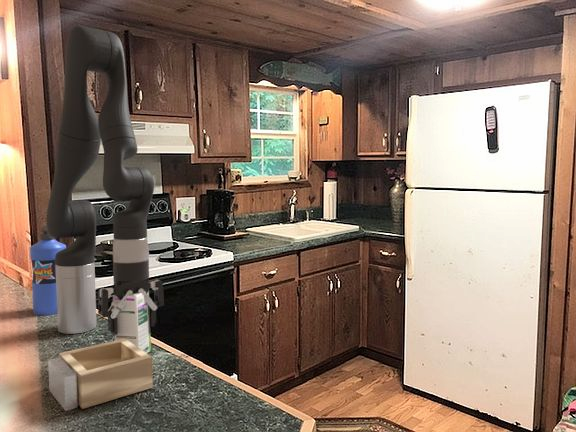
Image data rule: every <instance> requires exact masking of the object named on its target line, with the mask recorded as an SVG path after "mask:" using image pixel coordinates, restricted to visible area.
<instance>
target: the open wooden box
mask: <svg viewBox="0 0 576 432" xmlns="http://www.w3.org/2000/svg"><path fill="white" fill-rule="evenodd" d="M58 357H60V358H61V359H62V360H63V361H64V362H65V363H66V364H67V365H68V366H69V367H70V368H71V369H72V370H73V371H74V372H75V374H76V376H77V404H78V406H79V407H80V408H81V409H82V410H83V409H87V408H91V407H93V406H96V405H100V404H104V403H107V402H109V401H113V400H116V399H119V398H123V397H126V396H129V395H132V394H136V393H139V392H143V391H145V390H149V389H153V388H154V383H153V382H154V375H153V373H154V372H153V357H152V355H150V354H149V353H146V352H144V351H143V350H141V349H140V348H138V347H137V346H135V345H134V344H132V343H131V342H130V341H128V340H127V339H125V338H124V339H120V340H116V341H115V340H112V341H107V342H104V343H103V342H102V343H98V344H94V345H89V346H86V347H81V348H77V349H72V350H69V351H63V352H59V353H58Z"/></svg>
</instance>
